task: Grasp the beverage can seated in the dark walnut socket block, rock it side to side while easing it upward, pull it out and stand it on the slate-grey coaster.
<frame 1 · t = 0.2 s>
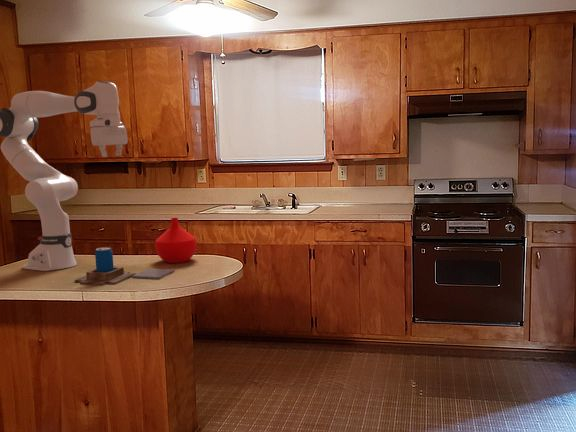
hand: (111, 156, 230), 47 cm above the worktop, fingers open, 8 cm apart
vase: (177, 261, 250), on the worktop
beverage can: (105, 279, 222), resting in socket
socket: (105, 278, 222), on the worktop
coaster: (153, 274, 226), on the worktop
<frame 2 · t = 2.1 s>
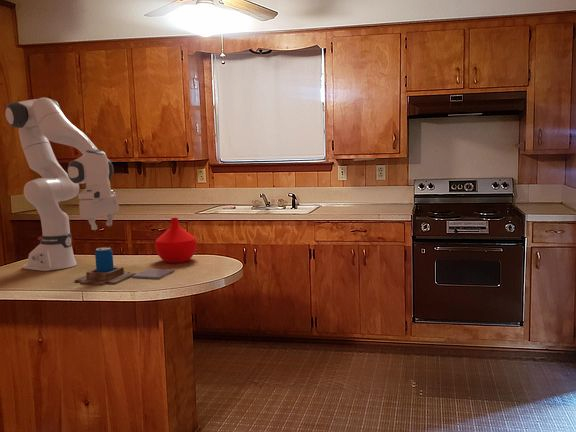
hand: (102, 227, 219), 20 cm above the worktop, fingers open, 8 cm apart
nothing on the worktop moved.
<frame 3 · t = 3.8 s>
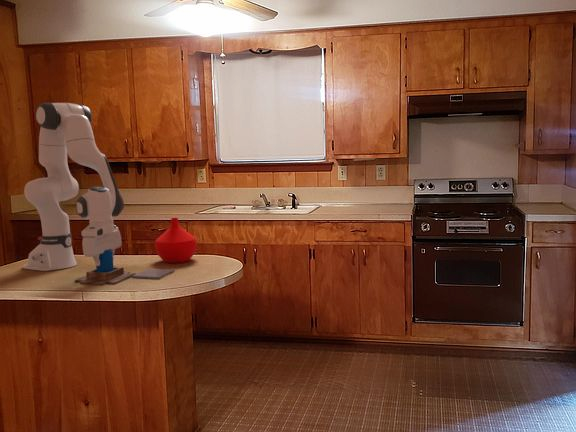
hand: (104, 263, 221), 6 cm above the worktop, fingers closed on beverage can, 6 cm apart
beverage can: (105, 279, 222), resting in socket, touching gripper
everything else where it was.
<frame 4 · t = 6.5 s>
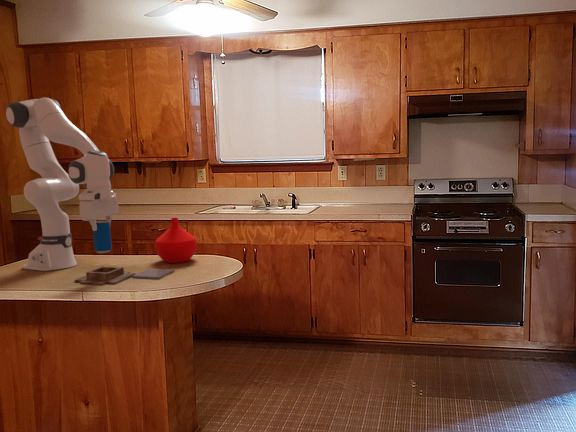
hand: (101, 228, 219), 20 cm above the worktop, fingers closed on beverage can, 6 cm apart
beverage can: (103, 252, 221), point 10 cm above the worktop, touching gripper
everything else where it was.
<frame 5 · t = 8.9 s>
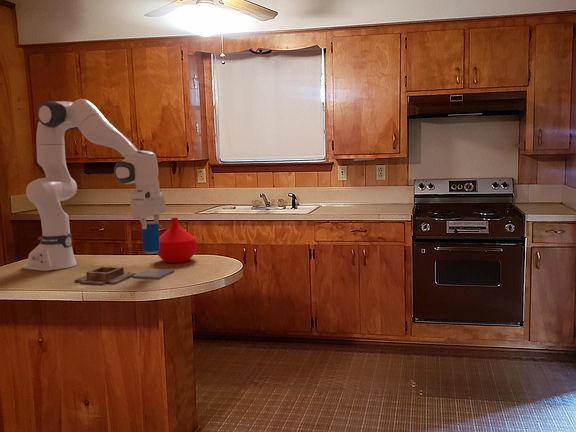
hand: (150, 227, 223), 19 cm above the worktop, fingers closed on beverage can, 6 cm apart
beverage can: (151, 252, 224), point 9 cm above the worktop, touching gripper
everything else where it was.
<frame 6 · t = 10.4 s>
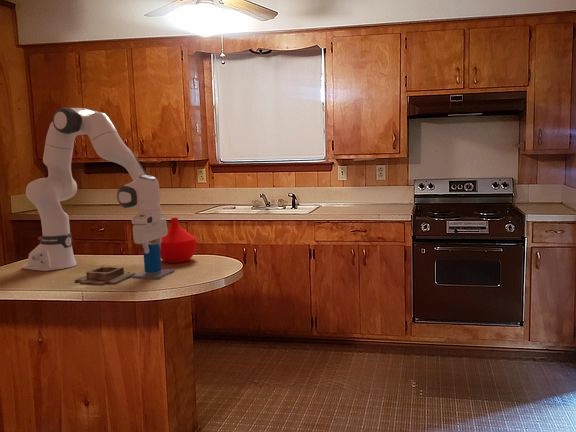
hand: (152, 251, 224), 10 cm above the worktop, fingers closed on beverage can, 6 cm apart
beverage can: (153, 273, 226), point 1 cm above the worktop, touching coaster, gripper
everything else where it was.
when the fingers open (9 cm above the worktop, at t = 11.3 s): beverage can stays where it is, resting on coaster.
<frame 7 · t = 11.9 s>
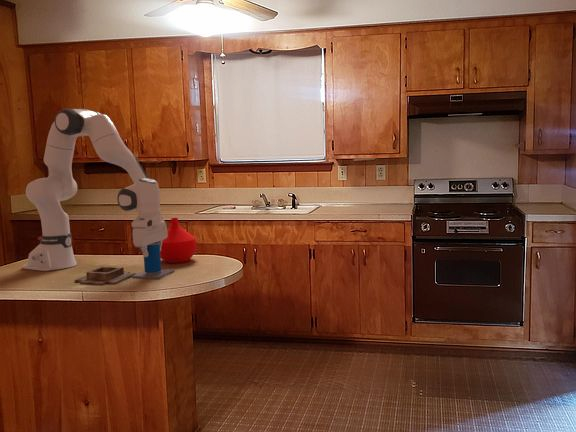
hand: (152, 254, 224), 8 cm above the worktop, fingers open, 8 cm apart
beverage can: (153, 273, 226), point 1 cm above the worktop, touching coaster
everything else where it was.
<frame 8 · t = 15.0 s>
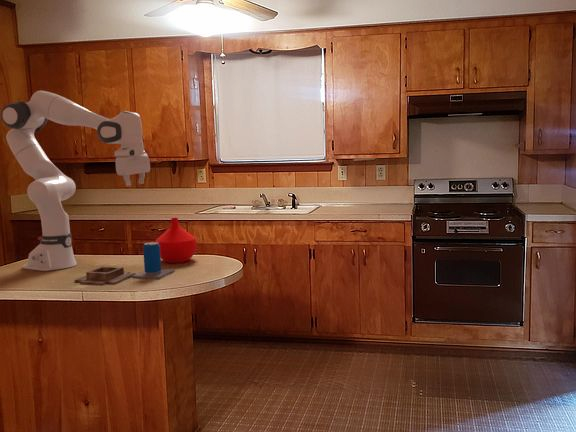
hand: (135, 184, 233), 35 cm above the worktop, fingers open, 8 cm apart
nothing on the worktop moved.
at the end: beverage can inside the target area on the coaster (0.2 cm from its centre), point 0.6 cm above the coaster's base; beverage can tilted 0°; the gripper is holding nothing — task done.
